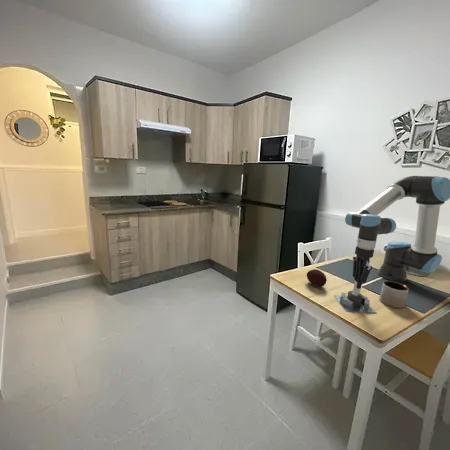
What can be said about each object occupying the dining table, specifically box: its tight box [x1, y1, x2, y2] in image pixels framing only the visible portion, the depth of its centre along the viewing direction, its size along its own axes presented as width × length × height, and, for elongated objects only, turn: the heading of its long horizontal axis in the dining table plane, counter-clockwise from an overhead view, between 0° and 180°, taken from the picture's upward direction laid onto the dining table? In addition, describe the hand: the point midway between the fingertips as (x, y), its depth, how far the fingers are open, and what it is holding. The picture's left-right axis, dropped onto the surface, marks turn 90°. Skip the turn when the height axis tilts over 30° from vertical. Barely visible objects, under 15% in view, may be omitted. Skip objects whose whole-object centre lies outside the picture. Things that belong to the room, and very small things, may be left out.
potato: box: [306, 268, 328, 288], centre depth 134 cm, size 9×12×9 cm
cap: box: [346, 290, 364, 307], centre depth 117 cm, size 6×6×5 cm
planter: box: [379, 280, 410, 309], centre depth 120 cm, size 11×11×10 cm
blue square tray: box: [333, 292, 377, 314], centre depth 117 cm, size 14×14×3 cm
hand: (356, 293), depth 116 cm, fingers closed
